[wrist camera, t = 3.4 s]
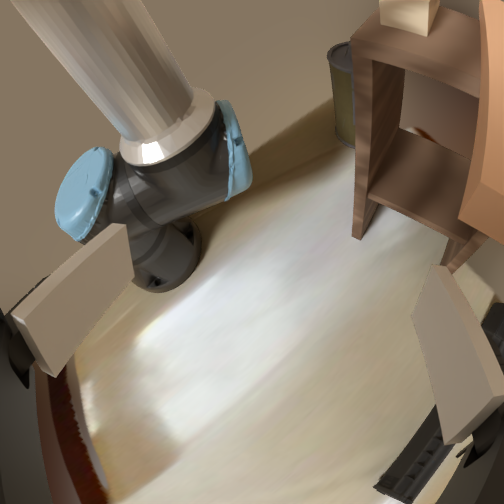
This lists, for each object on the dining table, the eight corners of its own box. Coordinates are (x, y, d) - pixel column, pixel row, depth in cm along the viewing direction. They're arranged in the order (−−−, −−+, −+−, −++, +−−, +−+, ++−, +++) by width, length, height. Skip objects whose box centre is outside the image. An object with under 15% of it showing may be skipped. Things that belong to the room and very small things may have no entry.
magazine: (382, 532, 19) (559, 319, 16) (363, 523, 20) (542, 304, 17) (391, 465, 34) (505, 310, 31) (376, 457, 36) (491, 300, 32)
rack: (351, 236, 43) (339, -39, 10) (383, 172, 46) (388, -57, 12) (442, 282, 37) (598, 65, 3) (465, 211, 39) (551, 3, 5)
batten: (515, 252, 8) (546, 224, 6) (457, 218, 9) (480, 182, 7) (504, 21, 13) (506, 3, 11) (478, 10, 14) (480, -9, 12)
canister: (339, 110, 54) (329, 26, 36) (389, 117, 50) (393, 32, 32) (331, 148, 51) (319, 56, 33) (387, 157, 47) (395, 64, 29)
